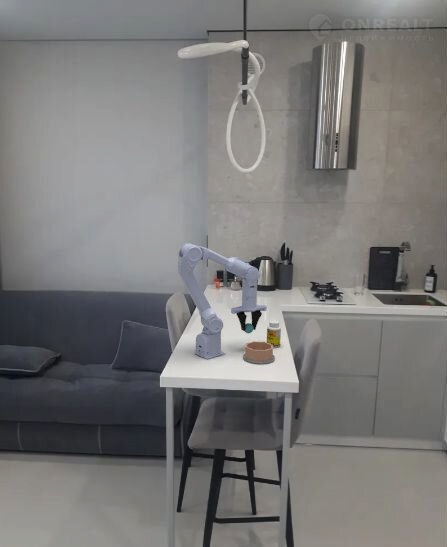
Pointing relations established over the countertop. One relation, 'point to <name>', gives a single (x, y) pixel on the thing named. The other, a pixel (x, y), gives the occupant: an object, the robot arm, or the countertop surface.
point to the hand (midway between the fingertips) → (248, 329)
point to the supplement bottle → (274, 333)
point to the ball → (248, 328)
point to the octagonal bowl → (259, 353)
